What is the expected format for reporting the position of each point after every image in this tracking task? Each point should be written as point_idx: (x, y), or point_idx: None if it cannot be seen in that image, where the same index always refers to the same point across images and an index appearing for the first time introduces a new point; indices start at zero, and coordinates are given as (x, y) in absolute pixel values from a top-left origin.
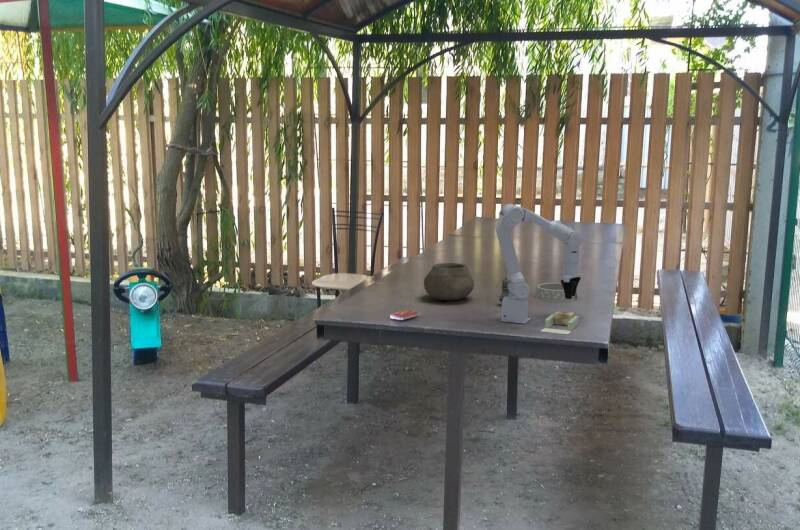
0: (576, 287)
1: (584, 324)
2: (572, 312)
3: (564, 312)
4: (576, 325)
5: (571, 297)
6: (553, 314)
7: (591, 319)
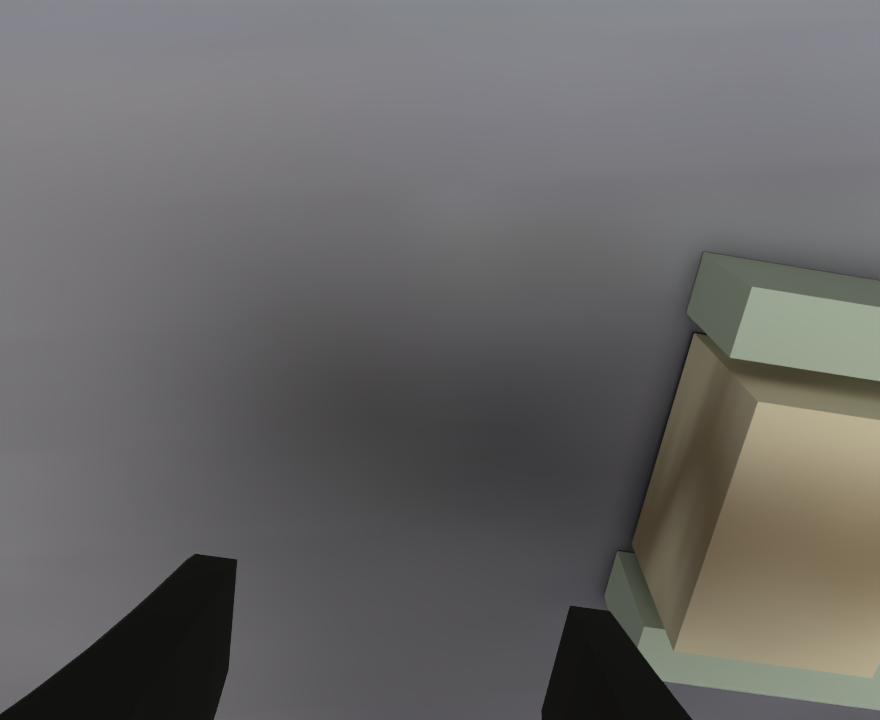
0: (128, 714)
1: (725, 156)
2: (764, 423)
3: (779, 549)
4: (851, 277)
5: (624, 631)
6: (708, 664)
7: (346, 54)
